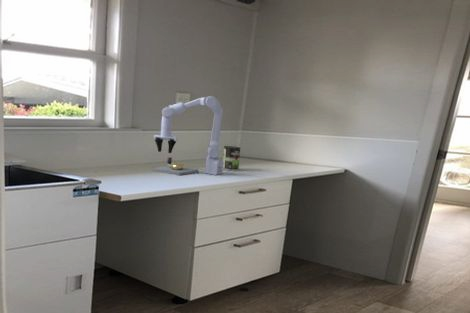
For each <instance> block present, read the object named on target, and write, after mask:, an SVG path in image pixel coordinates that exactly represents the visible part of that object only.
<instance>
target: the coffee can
mask: <svg viewBox="0 0 470 313" xmlns="http://www.w3.org/2000/svg"><path fill="white" fill-rule="evenodd" d="M240 155H241V147H239V146H232V145H231V146H230V145H225V146H223V158H222V161H223V170H224V171H231V172H232V171H233V172H234V171H239V167H240Z"/></svg>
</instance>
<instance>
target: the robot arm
mask: <svg viewBox="0 0 470 313" xmlns="http://www.w3.org/2000/svg"><path fill="white" fill-rule="evenodd" d="M196 106H206V107H208V108H209V109H210V110H211V111H212V113H214V114H213V122H212V127H211V135H210V142H209V146H208V147H207V150H206V151H207V152H206V153H207V156H206V159H205V171H202V173H203V174H208V175H215V176H217V175H223V174H224V172H223V170H224V169H223V159H221V158H220V157H219V155H220V151H219V143H220V142H219V141H220V135H221V128H222V119H223V113H224V111H223V109H222V106H221V104H220V102H219V100H218V99H217V98H216V97H215V96H214V95H209V96H205V97H204V96H203V97H199V98H195V99H194V100H191V101H188V102H185V103H184V102H181V101H177V102H176V103H175V104H169V105H168V106H165V107H163V108H162V110H161V116H162V117H161V124H160V134H154V135H153V139H154V142H155V144H156V147H157V151H158V152H159V153H161V152H162V147H163V142H164V140H166V141H167V143H168V144H167V145H168V150H167V152H168V154H172V152H173V149H174V147H175V145H176V143H177V142H178V140H179V139H178V136H172V125H173V124H172V118H173V117H172V116H176V115H179V114H182V113H185V112H186V109H190V108H193V107H196Z"/></svg>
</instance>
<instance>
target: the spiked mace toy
mask: <svg viewBox="0 0 470 313" xmlns="http://www.w3.org/2000/svg"><path fill="white" fill-rule="evenodd" d="M166 162H167V166H172V169H176V170H182V169H183V168H184V163H182V162H180V163H179V162H173V158H172V157H171V156H169V157H167V161H166Z"/></svg>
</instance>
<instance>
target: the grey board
mask: <svg viewBox="0 0 470 313" xmlns="http://www.w3.org/2000/svg"><path fill="white" fill-rule="evenodd" d="M152 171H155V172H158V173H159V172H160V173H165V174H170V175H176V176H185V175H192V174H198V173H199V169H194V168H188V167H185V166H183V169H182V170H176V169H172V166H168V165H166V166H157V167H153V168H152Z"/></svg>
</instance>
